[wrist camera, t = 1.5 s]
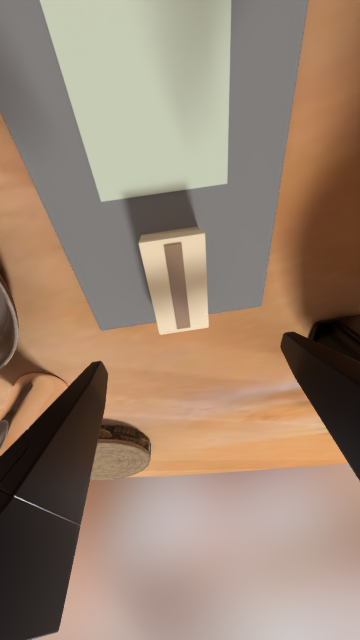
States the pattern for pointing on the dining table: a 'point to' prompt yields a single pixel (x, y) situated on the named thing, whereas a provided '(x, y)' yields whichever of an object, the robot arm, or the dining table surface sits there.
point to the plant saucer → (7, 324)
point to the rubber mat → (153, 134)
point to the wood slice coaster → (120, 453)
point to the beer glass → (27, 405)
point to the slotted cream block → (177, 278)
